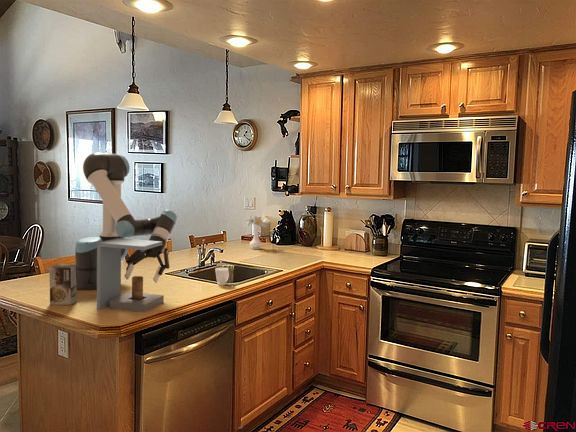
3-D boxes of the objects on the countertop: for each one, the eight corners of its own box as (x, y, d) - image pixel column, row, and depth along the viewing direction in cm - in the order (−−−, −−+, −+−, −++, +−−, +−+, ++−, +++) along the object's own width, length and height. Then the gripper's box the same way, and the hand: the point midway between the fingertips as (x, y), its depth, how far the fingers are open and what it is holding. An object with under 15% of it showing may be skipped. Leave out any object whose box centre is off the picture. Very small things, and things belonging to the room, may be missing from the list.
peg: (129, 305, 201) (129, 277, 200) (135, 302, 205) (135, 275, 204) (139, 306, 200) (139, 278, 199) (144, 304, 204) (145, 276, 203)
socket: (109, 307, 196) (109, 300, 196) (130, 298, 212) (130, 291, 212) (144, 311, 193) (144, 304, 193) (163, 301, 208) (163, 295, 208)
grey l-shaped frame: (96, 308, 194) (97, 242, 192) (117, 299, 209) (118, 238, 206) (143, 314, 190) (144, 246, 187) (161, 304, 204) (162, 241, 202)
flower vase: (269, 248, 367) (270, 216, 365) (255, 250, 352) (256, 217, 350) (256, 246, 374) (257, 214, 372) (241, 248, 359) (242, 216, 357)
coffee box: (77, 301, 204) (77, 264, 203) (71, 305, 198) (71, 267, 197) (56, 300, 204) (55, 263, 203) (49, 304, 198) (48, 266, 196)
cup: (211, 284, 244) (212, 269, 243) (222, 280, 253) (222, 266, 252) (223, 286, 241) (223, 270, 240) (233, 282, 250) (234, 267, 249)
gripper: (186, 246, 215) (170, 286, 202) (137, 242, 221) (118, 281, 208) (181, 236, 209) (164, 277, 196) (130, 232, 215) (110, 271, 202)
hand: (140, 279), depth 202 cm, fingers open, 13 cm apart
